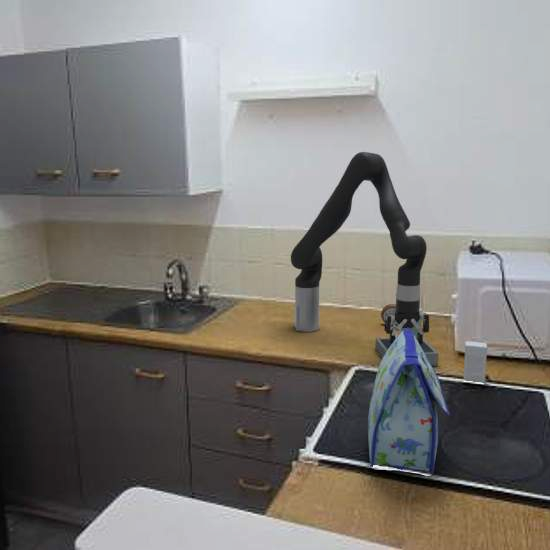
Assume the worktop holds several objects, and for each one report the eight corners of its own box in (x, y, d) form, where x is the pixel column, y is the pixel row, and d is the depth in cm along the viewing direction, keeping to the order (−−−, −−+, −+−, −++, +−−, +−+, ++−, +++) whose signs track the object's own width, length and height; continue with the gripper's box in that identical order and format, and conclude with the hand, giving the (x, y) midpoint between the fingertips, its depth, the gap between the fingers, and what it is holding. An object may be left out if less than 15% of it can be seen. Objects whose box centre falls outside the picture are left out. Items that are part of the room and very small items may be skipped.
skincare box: (484, 380, 165) (487, 342, 163) (484, 386, 161) (487, 347, 159) (462, 378, 167) (465, 340, 165) (462, 383, 163) (465, 345, 161)
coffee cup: (424, 338, 203) (425, 306, 200) (419, 345, 195) (421, 313, 193) (400, 335, 206) (401, 304, 204) (395, 342, 199) (396, 310, 196)
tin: (419, 324, 219) (420, 304, 217) (420, 327, 216) (421, 306, 214) (380, 323, 221) (381, 303, 219) (381, 326, 218) (382, 305, 216)
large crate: (388, 368, 175) (388, 355, 174) (375, 350, 191) (375, 338, 190) (437, 366, 176) (438, 353, 175) (420, 349, 192) (421, 336, 191)
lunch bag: (447, 480, 116) (455, 363, 110) (367, 474, 118) (370, 359, 113) (435, 429, 137) (441, 328, 131) (367, 424, 140) (370, 325, 134)
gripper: (389, 301, 175) (387, 349, 178) (433, 299, 176) (431, 348, 179) (383, 295, 182) (381, 341, 186) (425, 293, 183) (423, 340, 187)
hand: (406, 344), depth 183 cm, fingers open, 8 cm apart
